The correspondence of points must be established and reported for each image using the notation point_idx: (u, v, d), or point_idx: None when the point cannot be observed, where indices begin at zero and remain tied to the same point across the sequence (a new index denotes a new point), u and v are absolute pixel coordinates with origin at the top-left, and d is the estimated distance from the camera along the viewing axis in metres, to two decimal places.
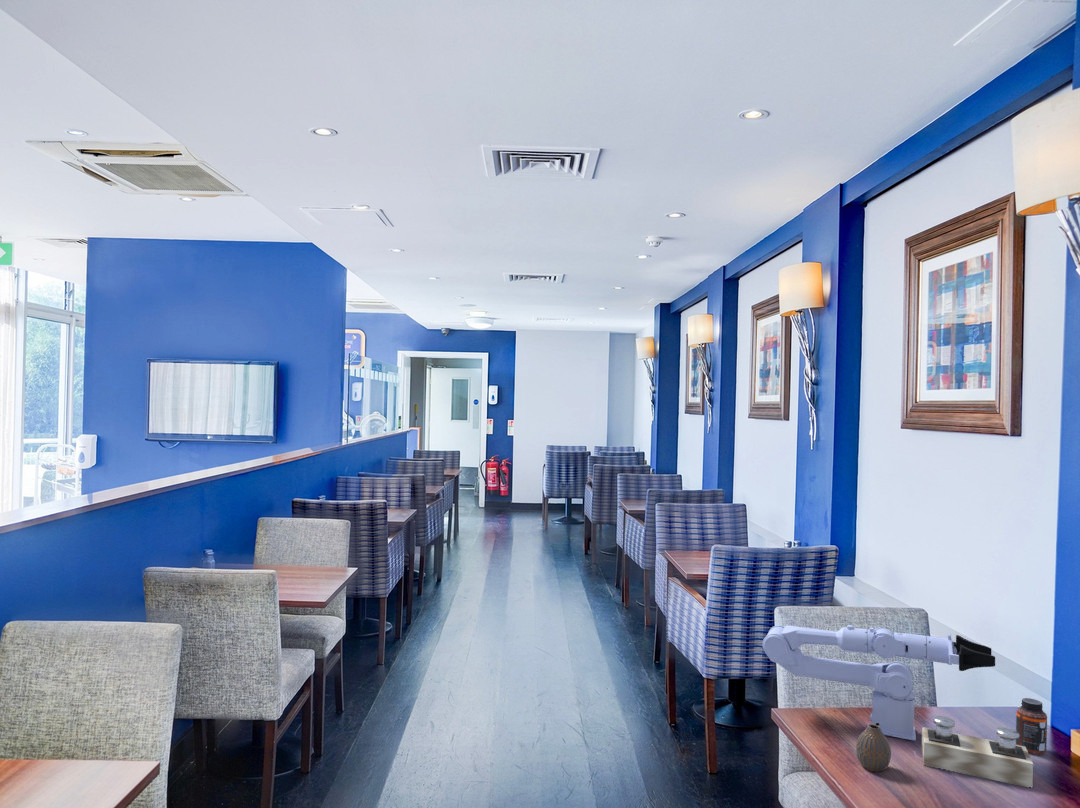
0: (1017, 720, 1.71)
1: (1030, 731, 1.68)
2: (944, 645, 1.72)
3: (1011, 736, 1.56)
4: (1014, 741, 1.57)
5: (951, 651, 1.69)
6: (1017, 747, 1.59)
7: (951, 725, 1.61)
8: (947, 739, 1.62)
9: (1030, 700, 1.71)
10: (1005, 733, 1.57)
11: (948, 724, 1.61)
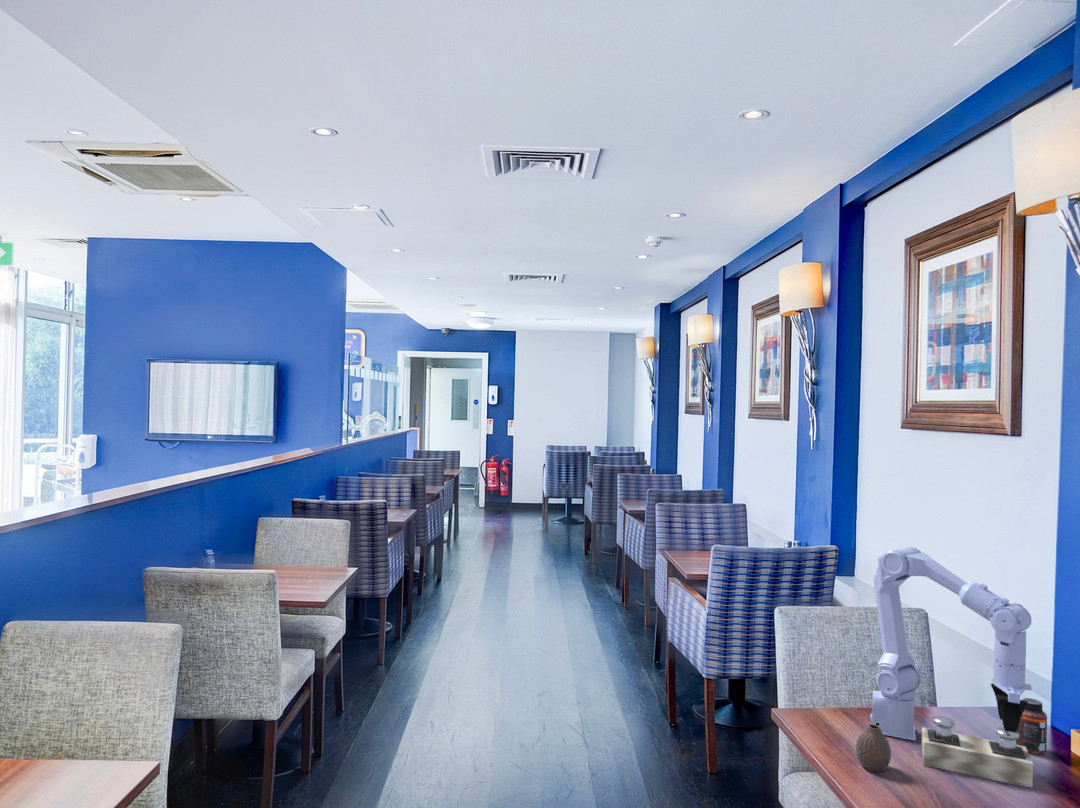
0: None
1: (1030, 731, 1.68)
2: (1020, 683, 1.56)
3: (1011, 736, 1.56)
4: (1014, 741, 1.57)
5: (1020, 694, 1.53)
6: (1017, 747, 1.59)
7: (951, 725, 1.61)
8: (947, 739, 1.62)
9: (1030, 700, 1.71)
10: (1005, 733, 1.57)
11: (948, 724, 1.61)
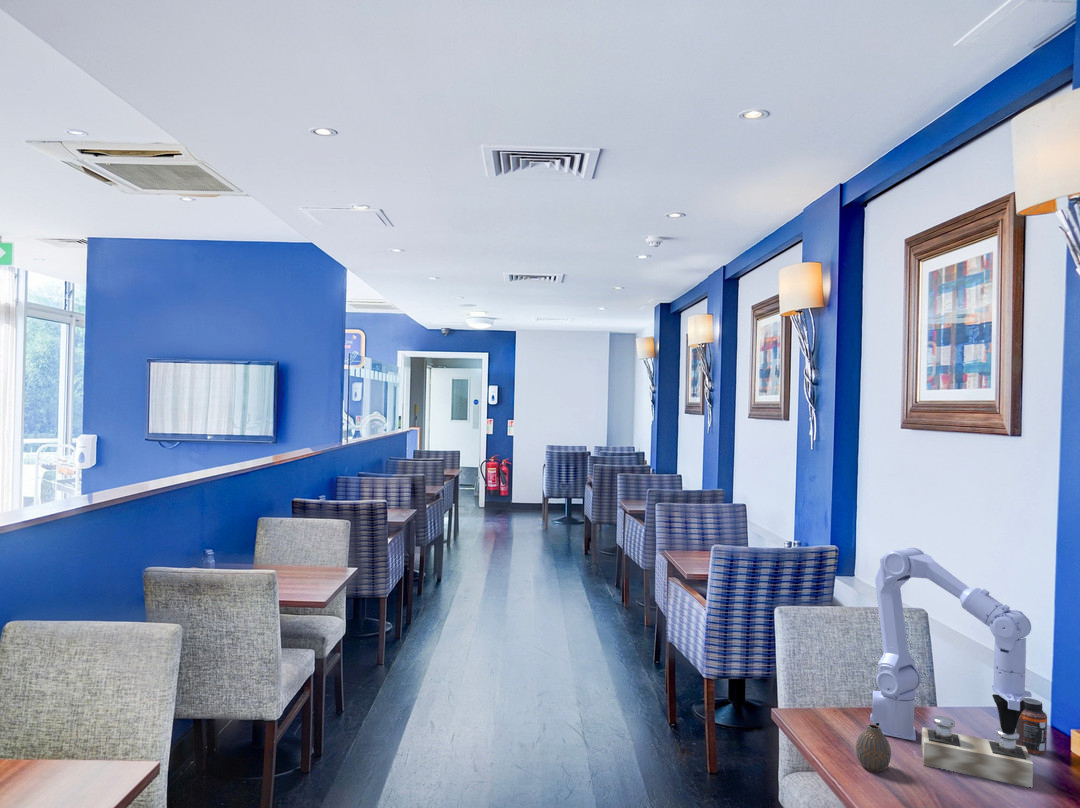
0: None
1: (1030, 731, 1.68)
2: (1020, 690, 1.56)
3: (1011, 737, 1.56)
4: (1014, 742, 1.57)
5: (1020, 701, 1.53)
6: (1017, 747, 1.59)
7: (951, 725, 1.61)
8: (947, 739, 1.62)
9: (1030, 700, 1.71)
10: (1005, 734, 1.57)
11: (948, 724, 1.61)
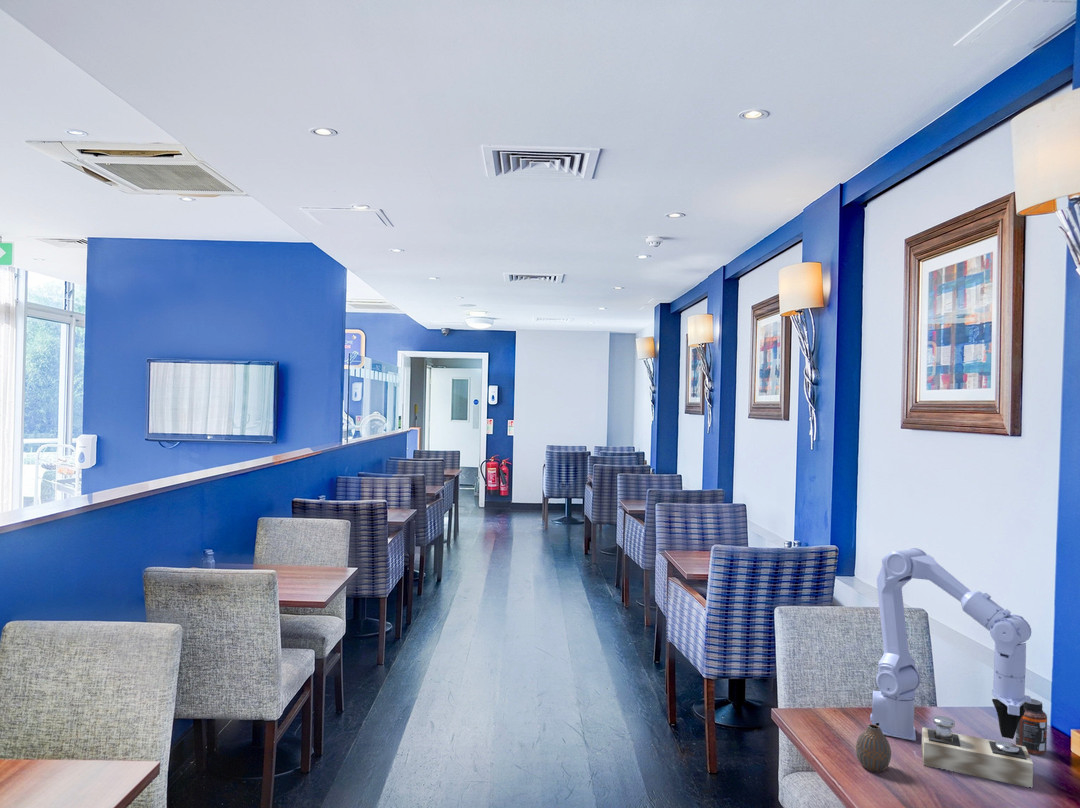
0: None
1: (1030, 731, 1.68)
2: (1020, 695, 1.56)
3: (1011, 750, 1.56)
4: None
5: (1019, 706, 1.53)
6: None
7: (951, 725, 1.61)
8: (947, 739, 1.62)
9: None
10: (1005, 747, 1.57)
11: (948, 724, 1.61)
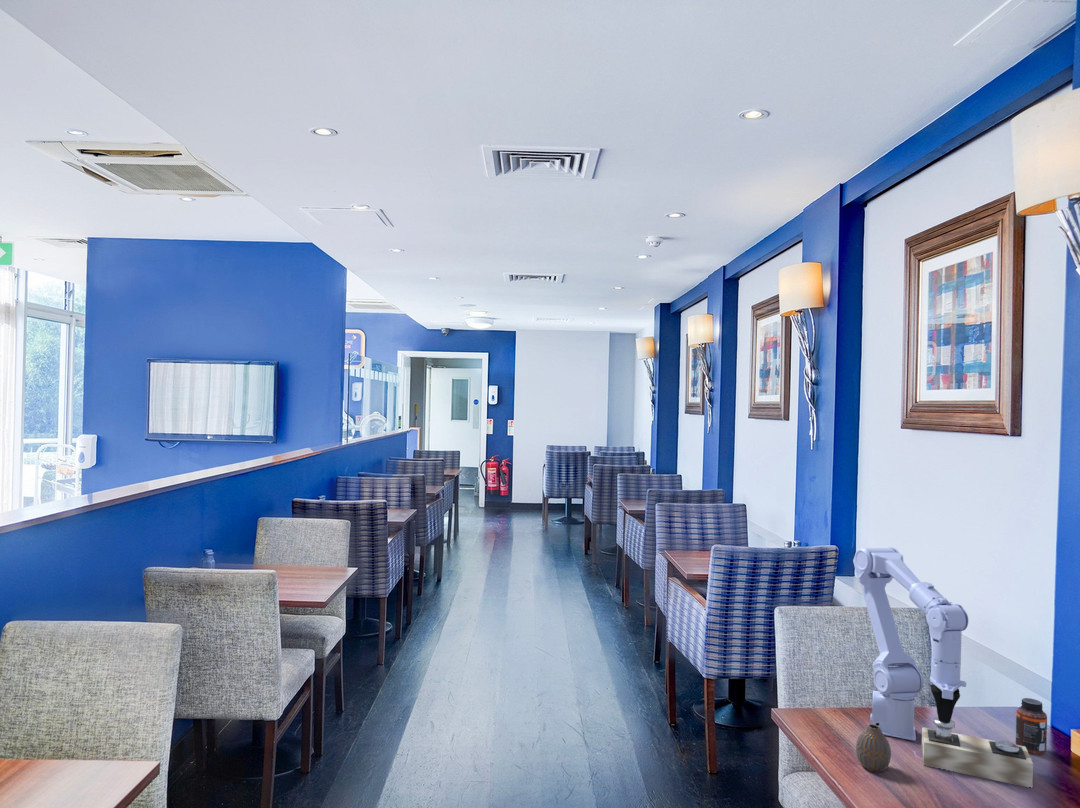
0: (1017, 720, 1.71)
1: (1030, 731, 1.68)
2: (955, 680, 1.61)
3: (1011, 750, 1.56)
4: None
5: (954, 690, 1.58)
6: None
7: (951, 726, 1.61)
8: (947, 740, 1.62)
9: (1030, 700, 1.71)
10: (1005, 747, 1.57)
11: (948, 725, 1.61)
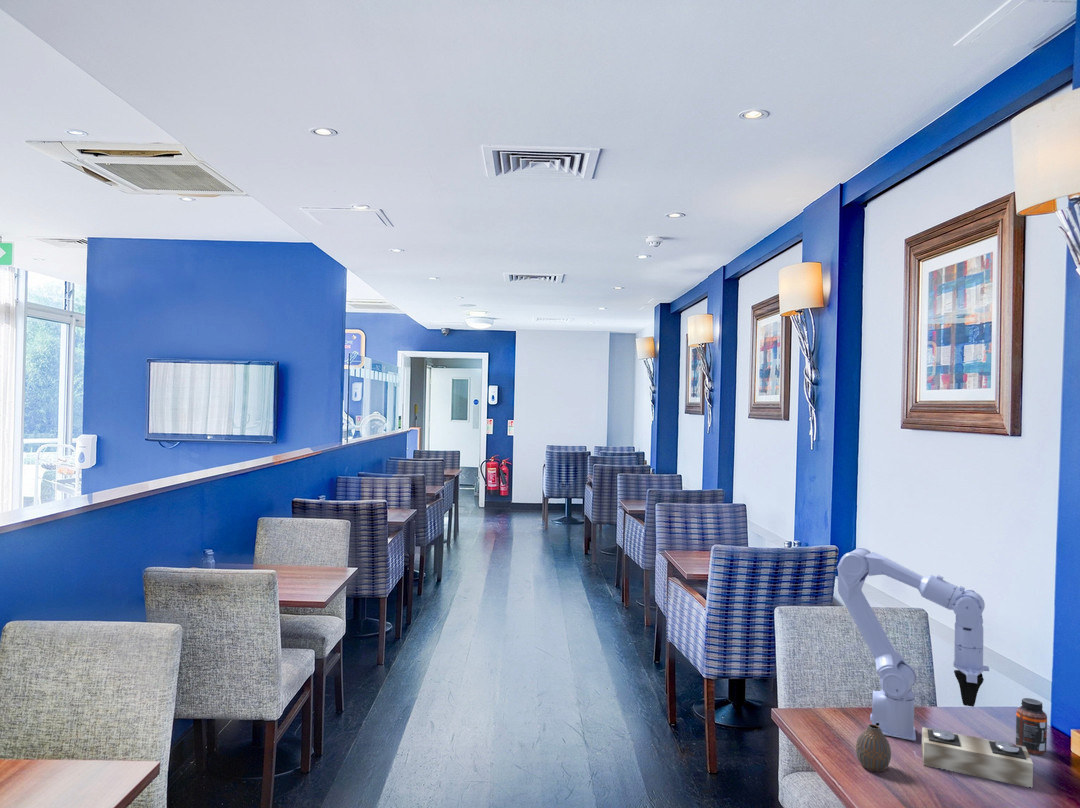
0: (1017, 720, 1.71)
1: (1030, 731, 1.68)
2: (978, 665, 1.67)
3: (1011, 750, 1.56)
4: None
5: (977, 674, 1.64)
6: None
7: (951, 739, 1.61)
8: None
9: (1030, 700, 1.71)
10: (1005, 747, 1.57)
11: (948, 738, 1.61)
